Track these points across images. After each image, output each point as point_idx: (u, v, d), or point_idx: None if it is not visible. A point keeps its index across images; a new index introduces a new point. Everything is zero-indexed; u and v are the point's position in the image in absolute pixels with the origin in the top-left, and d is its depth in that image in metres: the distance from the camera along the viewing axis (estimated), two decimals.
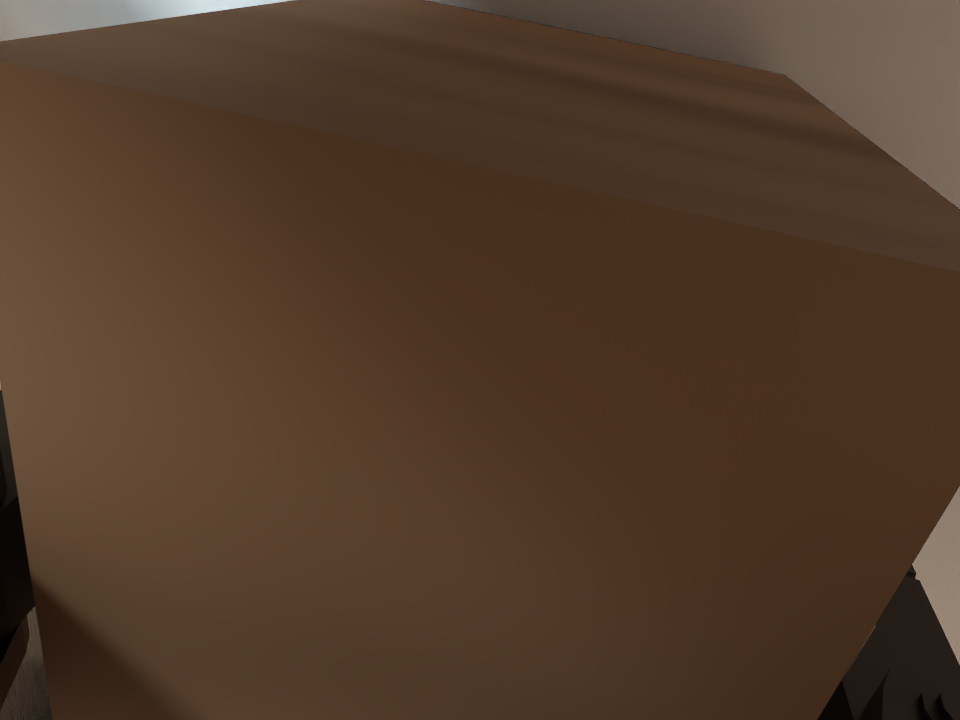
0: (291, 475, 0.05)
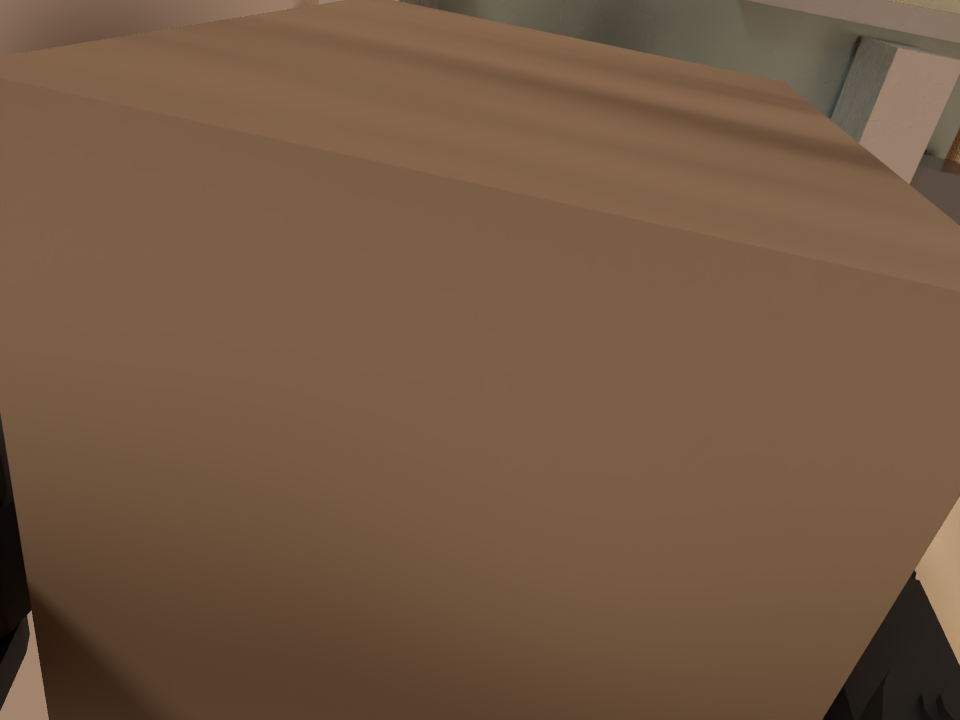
0: (288, 490, 0.05)
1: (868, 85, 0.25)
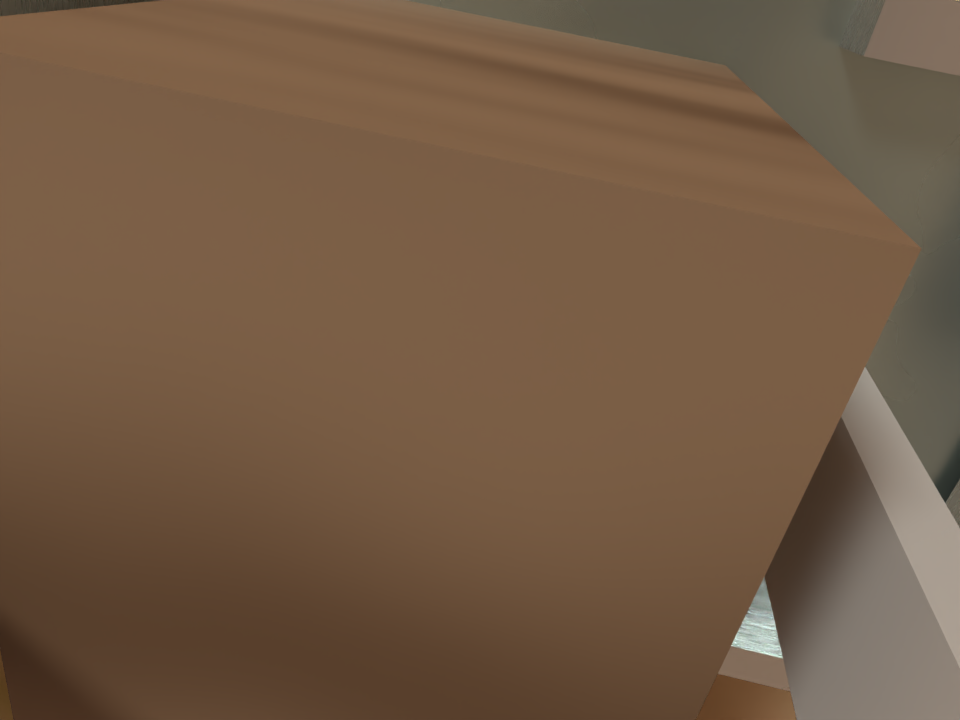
0: (222, 435, 0.05)
1: None
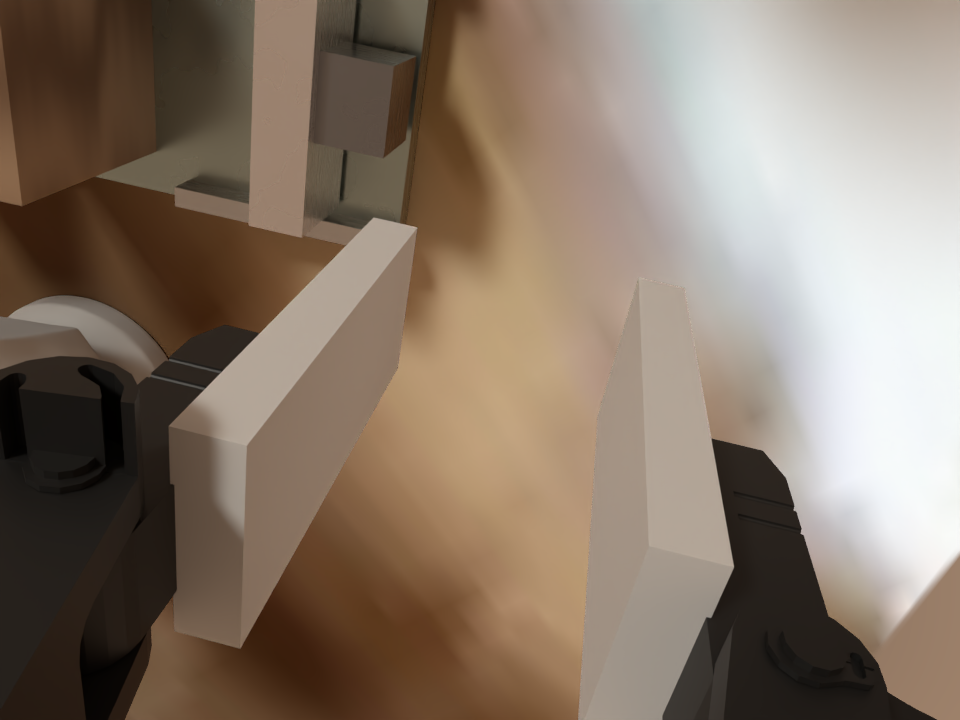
0: None
1: None
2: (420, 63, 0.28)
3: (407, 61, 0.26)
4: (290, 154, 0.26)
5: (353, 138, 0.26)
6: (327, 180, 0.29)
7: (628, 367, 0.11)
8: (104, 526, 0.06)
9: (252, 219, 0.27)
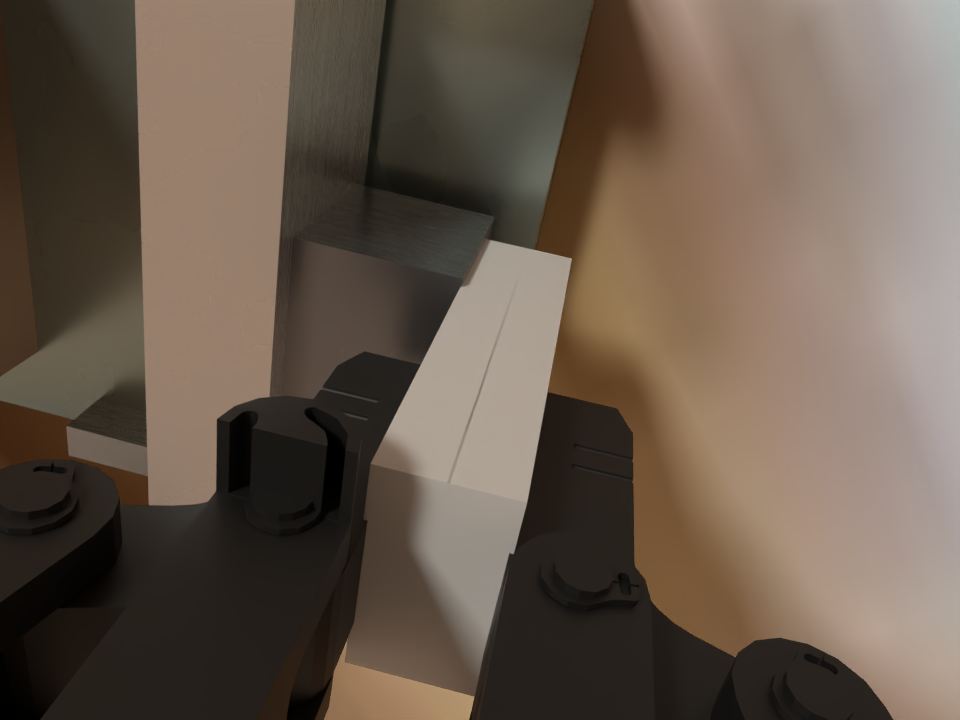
0: None
1: None
2: (538, 230, 0.14)
3: (482, 241, 0.12)
4: None
5: None
6: None
7: None
8: (320, 576, 0.06)
9: None
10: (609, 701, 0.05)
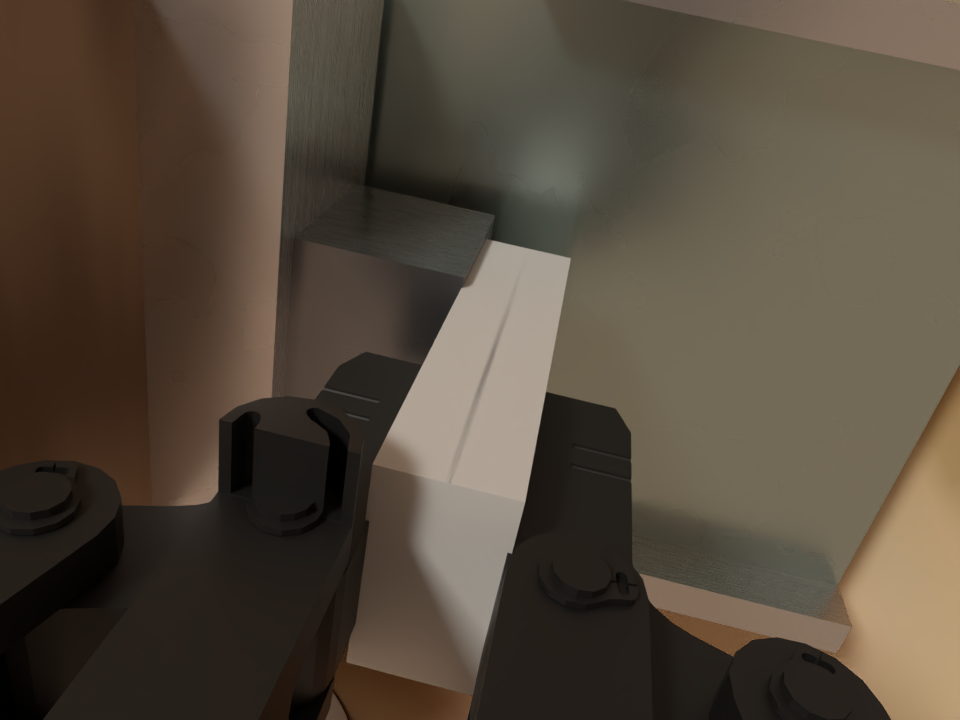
0: None
1: None
2: None
3: (483, 239, 0.12)
4: None
5: None
6: None
7: None
8: (322, 576, 0.06)
9: None
10: (607, 701, 0.05)
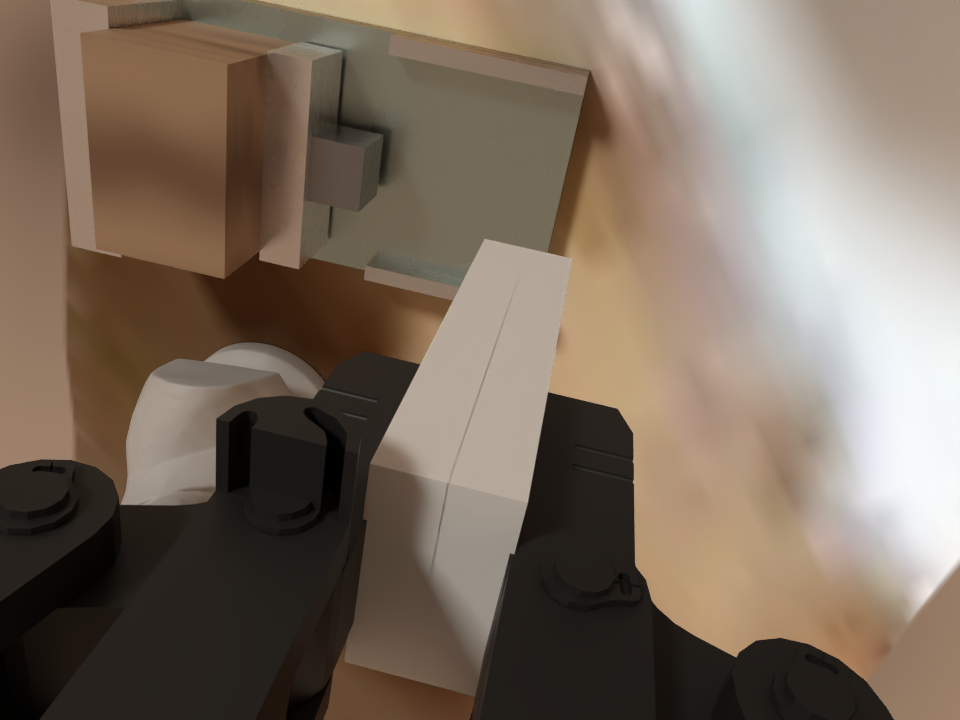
0: (133, 105, 0.31)
1: None
2: (564, 177, 0.37)
3: (376, 141, 0.36)
4: (290, 209, 0.36)
5: (336, 197, 0.36)
6: (318, 225, 0.38)
7: None
8: (320, 576, 0.06)
9: (262, 255, 0.37)
10: (610, 701, 0.05)
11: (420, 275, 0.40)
